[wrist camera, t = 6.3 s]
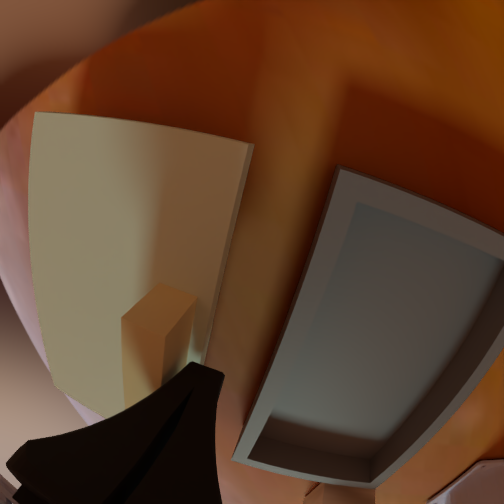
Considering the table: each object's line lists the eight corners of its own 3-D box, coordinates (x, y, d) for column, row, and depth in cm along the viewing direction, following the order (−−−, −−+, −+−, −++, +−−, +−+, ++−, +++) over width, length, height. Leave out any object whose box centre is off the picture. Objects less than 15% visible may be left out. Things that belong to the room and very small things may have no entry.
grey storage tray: (520, 241, 10) (548, 261, 8) (373, 460, 16) (374, 489, 14) (336, 164, 11) (340, 169, 9) (241, 430, 18) (231, 460, 15)
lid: (254, 144, 9) (220, 145, 6) (187, 445, 16) (166, 487, 12) (47, 111, 10) (-11, 114, 7) (61, 379, 17) (33, 408, 14)
